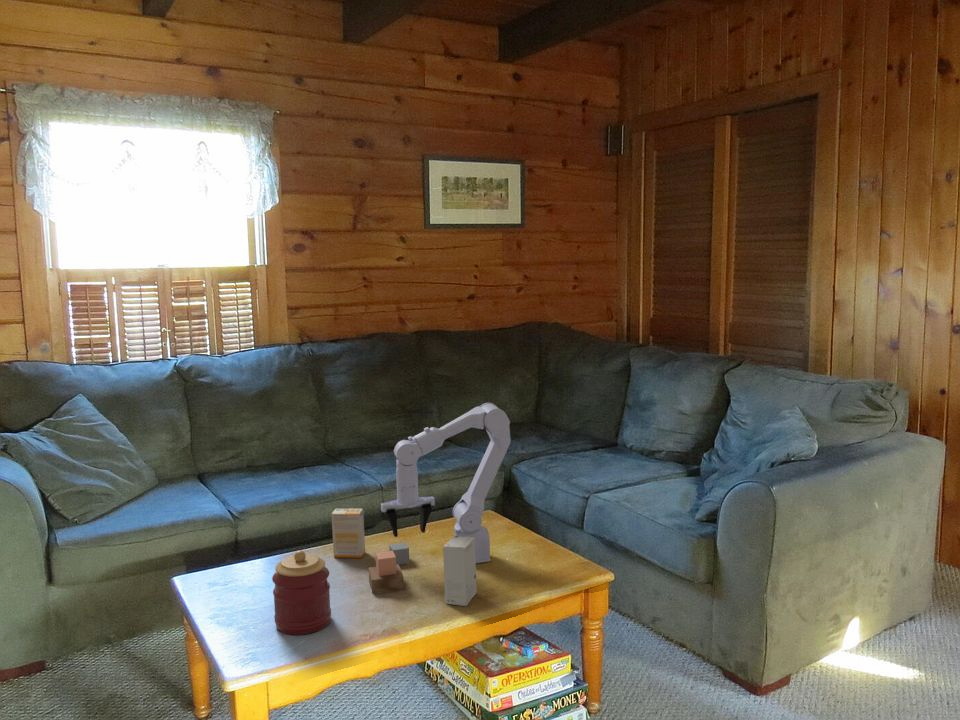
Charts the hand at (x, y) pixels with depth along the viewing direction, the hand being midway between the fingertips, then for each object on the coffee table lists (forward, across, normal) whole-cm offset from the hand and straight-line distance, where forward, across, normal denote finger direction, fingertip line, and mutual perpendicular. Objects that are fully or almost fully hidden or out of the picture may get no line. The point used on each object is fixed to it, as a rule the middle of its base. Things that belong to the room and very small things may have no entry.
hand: (409, 533), depth 220 cm
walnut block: (+10, -9, -10) cm, 16 cm away
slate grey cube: (+10, -2, +4) cm, 11 cm away
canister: (+10, -32, -22) cm, 40 cm away
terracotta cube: (+6, -9, -9) cm, 14 cm away
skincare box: (+10, +6, -24) cm, 27 cm away
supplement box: (+10, -14, +14) cm, 22 cm away
